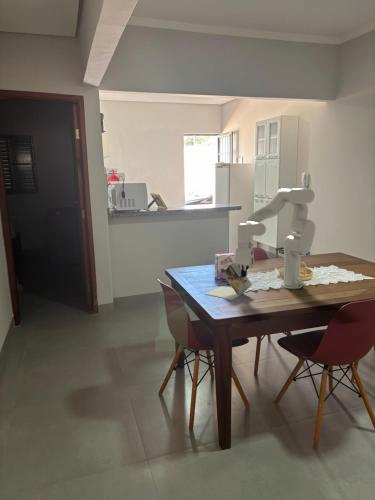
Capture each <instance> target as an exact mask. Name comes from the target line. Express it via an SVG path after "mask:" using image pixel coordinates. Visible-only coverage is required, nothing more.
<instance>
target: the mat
mask: <svg viewBox="0 0 375 500" xmlns="http://www.w3.org/2000/svg"><path fill="white" fill-rule="evenodd" d="M246 291H247V290H246ZM246 291H245V292H244V293H241V294H239V295H237V294H236V292H235V291H234V289H233V288H232V287H228V286H223V285H220V286H219V287H216V288H214V289H213V290H211V291H208V292H206V293H205V296H206V295H207V296H212V297H217V298H221V299H224V300H226V299H227V300H230V301H232V300H235V299H237V298H238V297H240V296H242V295H243V294H245V293H247V292H246Z"/></svg>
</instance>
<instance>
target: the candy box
mask: <svg viewBox="0 0 375 500" xmlns="http://www.w3.org/2000/svg"><path fill="white" fill-rule="evenodd" d="M234 263H235V252H230V253H215V254H214V278H215V279H216V280H227V279H226V277H225V276H224V275H223V272H224V271H225V270H226V269H227V268H228V267H229V266H230V265H231V264H234Z"/></svg>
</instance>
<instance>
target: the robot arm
mask: <svg viewBox="0 0 375 500" xmlns="http://www.w3.org/2000/svg"><path fill="white" fill-rule="evenodd" d="M315 196H316V194H315V191H314V190H312V189H311V188H302V187H301V188H300V187H295V188H281V189H278V190H277V191H276V192H275V194H273V196H272V197H271V198H270V200H268V202H267V203H265V205H264V206H262V207H261V208H259V209H257V210H256V211H254V212H253V213H252V214H251V215H250V216H249V217H248V218H247V219H246V220H245V222H240V223H239V224H238V225H237V246H236V249H235V252H234V254H235V265H236V266H238V267H239V268H240V270H241V277H247V275H248V272H247V271H248V269H252V268H253V267H254V263H255V257H254V256H255V255H254V248H253V247H254V244H253V243H252V237H253V236H255V237H259V236H263V235H264V234H265V233H266V232H267V231H266V230H267V228H266V226H265V224H264V223H262V221H265V220H268V219H272V218H274V217H276V216H277V215H279V213H280V212H281V211H282V210H283V208H284V207H285V206H286V205H288V204H289V205H292V206H293V212H292V216H291V219H290V220H291V221H290V224H289V231H290V232H291V233H293V234H295V235H288V236H286V237H285V238H284V239H283V243H282V246H283V252H284V253H283V254H284V260H283V261H284V263H283V282H281V283H280V287H283V288H284V289H289V290H298V289H301V288H303V286H304V287H306V286H307V283H306V281H302V279H301V261H302V260H301V254H302V255H306V254H307V253H309V252H310V250H311V248H312V244H313V241H314V238H315V233H316V224H315V222H314V221H313V220H312V219H308V214H309V207H308V204H311V203H312V202H313V201H314V200H315ZM298 235H299V236H298Z"/></svg>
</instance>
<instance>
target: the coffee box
mask: <svg viewBox="0 0 375 500" xmlns="http://www.w3.org/2000/svg"><path fill="white" fill-rule="evenodd" d="M223 275H224V276H225V277H226V279H225V280H227V282H228V283H229V285H230V286H231V288H233V289H234V291H235V292H236V294H237V295H239V294H241V293H243V294H245V293H246V292H245V291H248V289H249V288H250V287H252V285H253V283H252V282H251V281H250V280H249V278H248V277H247V276H246V277H241V270H240V268H239V267H238V266H236V265H235V263H234V264H231V265H230V266H229V267H228V268H227V269H226V270H225V271H224V272H223ZM244 292H245V293H244Z"/></svg>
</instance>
